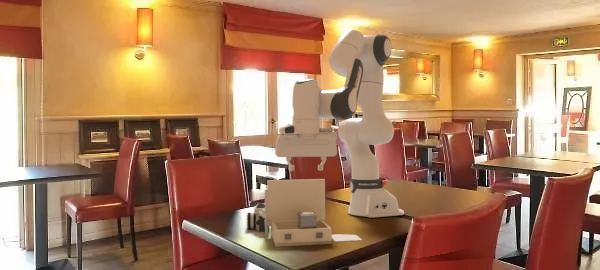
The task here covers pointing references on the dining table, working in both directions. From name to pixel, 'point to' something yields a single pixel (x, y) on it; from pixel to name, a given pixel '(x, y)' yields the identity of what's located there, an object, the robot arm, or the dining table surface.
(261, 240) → the dining table surface
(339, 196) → the dining table surface
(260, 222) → the camera
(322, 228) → the case
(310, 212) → the block
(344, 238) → the mat
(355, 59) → the robot arm
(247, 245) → the dining table surface
